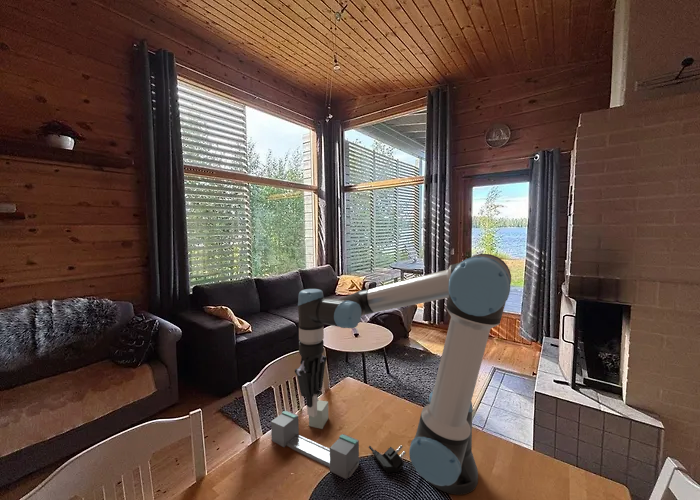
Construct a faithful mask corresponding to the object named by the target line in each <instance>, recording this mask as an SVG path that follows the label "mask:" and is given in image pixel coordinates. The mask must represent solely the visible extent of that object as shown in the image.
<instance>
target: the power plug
mask: <svg viewBox="0 0 700 500" xmlns="http://www.w3.org/2000/svg"><path fill="white" fill-rule="evenodd" d="M368 448H369V450H370V451H371V452H372V455H373V456H374V458H375V459H376V460H377V462H378V464H379V465H380V466H381V467H382V468H383V469H384V470H385V472H386V473H395V472H396V473H398V472H399V471H400V470H401V469H402V468H403V466H405V463H404V461H403V459H402V458H403V457H404V456H405V455H406V453H407V452H406V451H405V450H403V451H402V453H401V454H399V452H400V450H402V449H403V445H402V444H401V445H400V446H398V447H397V449H394V447H392V446H390V447H389V448H387V450H386V451H385V452H384V453H383V454H381V453H380V452H379V451H378V450H377V449H374V448H373V447H372V446H371V445H369V446H368Z"/></svg>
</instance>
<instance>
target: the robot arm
mask: <svg viewBox="0 0 700 500" xmlns="http://www.w3.org/2000/svg"><path fill="white" fill-rule="evenodd" d="M511 283H512V274H511V270H510V268H509V266H508V265H507V264H506V262H505V261H504V260H502V258H500V257H499V256H496V255H494V254H490V253H480V254H475V255H473V256H471V257H468V258H466V259H464V260H462V261H460V262H457V263H453V264H450V265H449V266H448V268H447V269H445V270H440V271H437V272H433V273H428V274H424V275H421V276H417V277H412V278H409V279H404V280H401V281H397V282H393V283H388V284H385V285H380V286H376V287H372V288H369V289H362V290H361V289H360V290H358V291H356V292H354V293H352V294H348V295H345V296H344V297H340V298H337V299H336V298H327V297H325V296H324V292H323V290H322V289H319V288H306V289H302V290H300V291H299V293H298V297H297V298H298V302H297V313H298V353H299V355H300V357H301V359H300V366H299V367H298V368H295V369H294V374H296V376H297V382H298V387H299V391H300V395H301V397H305V399H306V401H305V402H306V407H307V411H306V412H307V415H308V416H309V415H310V416H312V417H315V416H317V401H318V400H319V399H318V398H319V397H318V395H320V394H321V389H323V383H324V376H325V375H324V374H325V368H326V362H327V359H328V357H327V356H326V355H323V353H324V351H325V350H324V349H325V348H324V347H325V345H324V338H325V335H324V329H325V328H324V325H328V326H333V327H338V328H340V329H355V328H357V326H358V325H359V323H360V322H361V319H362V317H363V316H365V315H371V314H375V313H379V312H385V311H389V310H393V309H399V308H404V307H410V306H414V305H419V304H425V303H429V302H436V301H439V300H443V299H447V302H446V303H447V304H446V307H445V308H446V310H447V312H448V314H449V316H450V319H449V324H448V328H447V333H446V337H445V340H444V343H443V344H444V345H443V347H442V348H443V349H442V353H441V358H440V360H439V366H438V370H437V373H436V377H435V382H434V387H433V390H432V391H431V392H430V393H429V397H428V404H427V405H425V406H423V407H422V410H421V413H420V417H419V420H418V423H417V424H418V425H417V429H416V432H415V435H414V438H413V439H412V440H411V441H410V446H409V451H408V453H409V454H408V455H409V459H410V463H411V464H412V466H413V467H414V468H415V471H416V472H417V473H418V474H419V475H420V476H421V477H422V478H423V479H424V480H426V481H427V482H428V483H430V484H431V485H432V486H433V487H435V488H436V489H438V490H439V491H442V492H445V494H446V493H447V494H450V495H466V494H468V493H471V492H473V491H474V490H475V489H476V488H477V486H478V482H479V471H478V466H477V464H476V460H475V457H474V453H473V451H472V450H473V449H472V447H473V443H472V442H473V440H472V438H473V413H474V409H473V402H472V399H473V397H474V393H475V389H476V388H475V387H476V384H477V381H478V377H479V373H480V369H481V365H482V362H483V358H484V355H485V351H486V348H487V342H488V340H489V336H490V332H491V329H493V328H494V327H497V326H499V325H500V324H501V320H502V318H503V315H504V310H505V306H506V303H507V300H508V298H509V296H510V292H511Z"/></svg>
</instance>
